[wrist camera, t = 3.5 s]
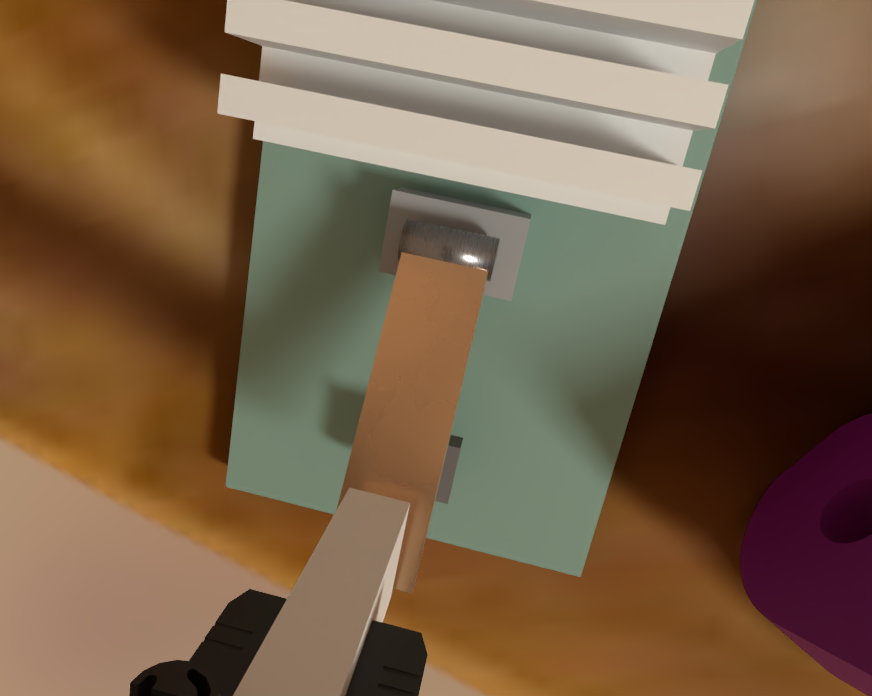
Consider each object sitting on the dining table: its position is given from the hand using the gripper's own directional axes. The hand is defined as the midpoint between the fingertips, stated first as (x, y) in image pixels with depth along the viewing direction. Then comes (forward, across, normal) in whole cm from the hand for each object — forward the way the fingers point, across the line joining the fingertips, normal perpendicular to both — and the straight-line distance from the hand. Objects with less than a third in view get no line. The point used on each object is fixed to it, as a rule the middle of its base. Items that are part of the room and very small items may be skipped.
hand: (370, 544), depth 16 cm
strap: (+3, 0, +3) cm, 4 cm away
